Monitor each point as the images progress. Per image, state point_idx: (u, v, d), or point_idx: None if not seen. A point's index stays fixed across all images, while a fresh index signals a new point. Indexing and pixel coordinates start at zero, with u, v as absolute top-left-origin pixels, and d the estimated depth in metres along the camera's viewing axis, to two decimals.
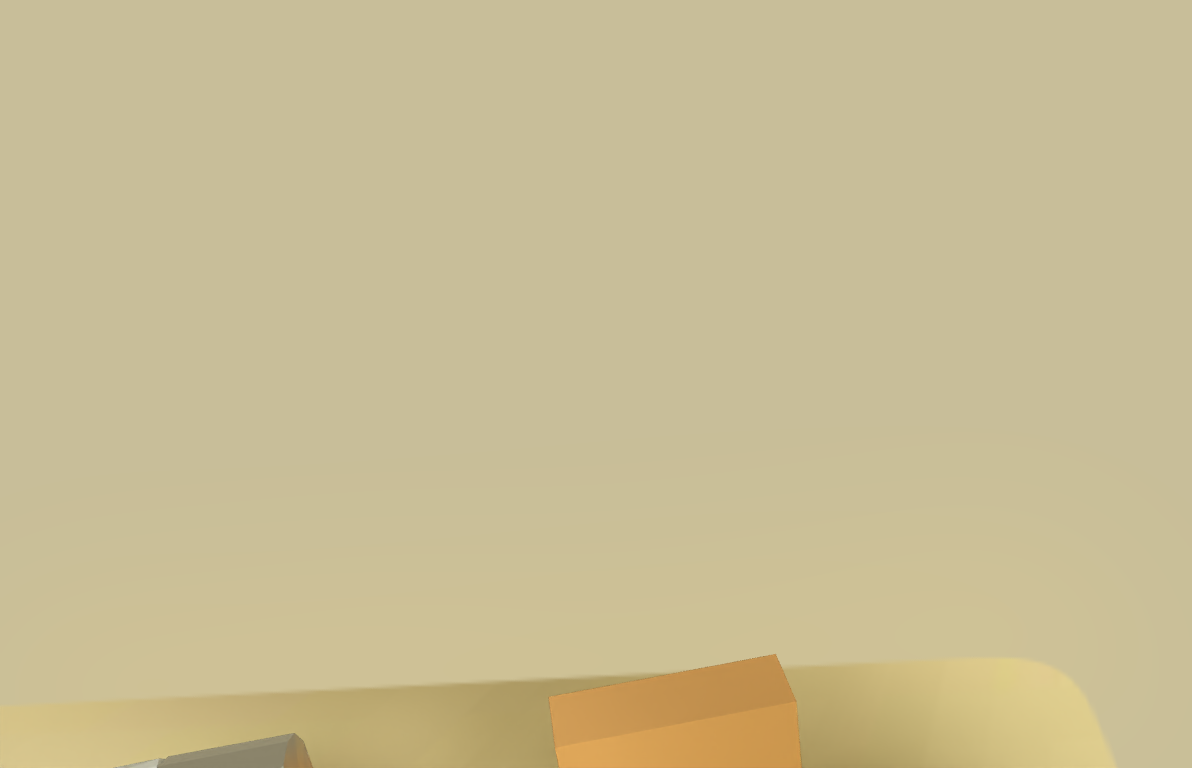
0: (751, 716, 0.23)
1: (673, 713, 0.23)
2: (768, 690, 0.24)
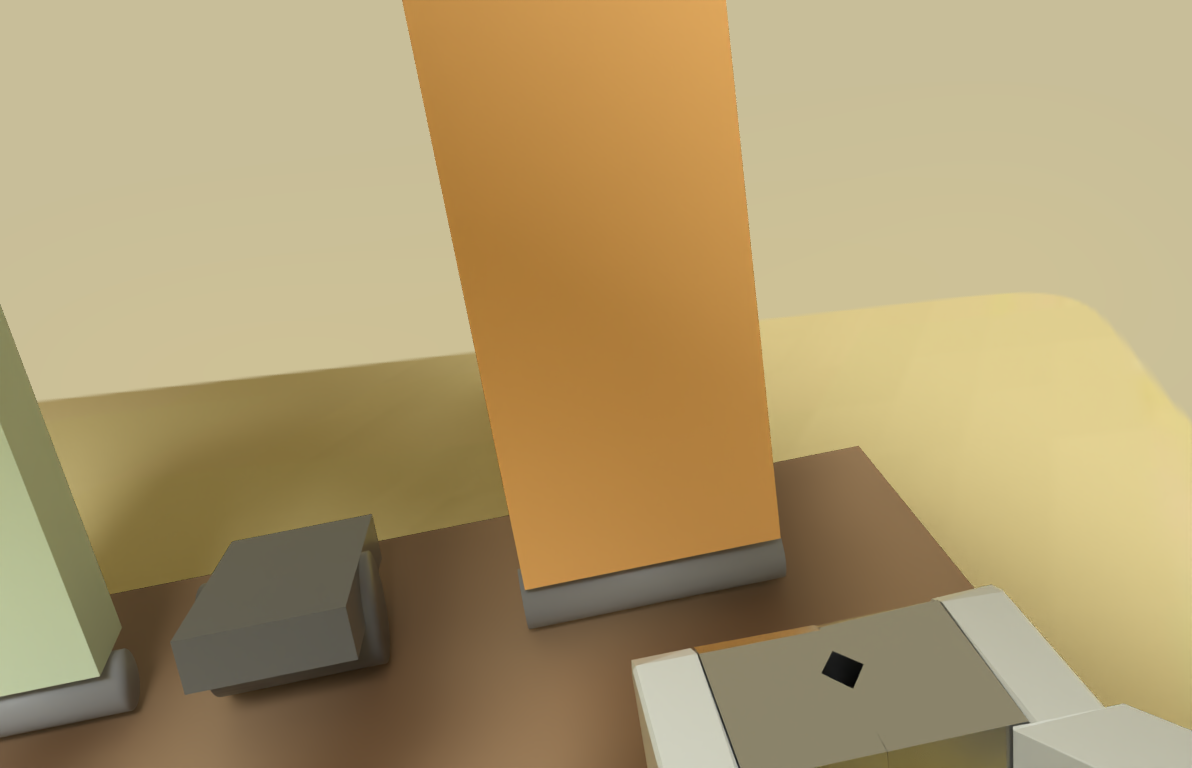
0: None
1: None
2: None
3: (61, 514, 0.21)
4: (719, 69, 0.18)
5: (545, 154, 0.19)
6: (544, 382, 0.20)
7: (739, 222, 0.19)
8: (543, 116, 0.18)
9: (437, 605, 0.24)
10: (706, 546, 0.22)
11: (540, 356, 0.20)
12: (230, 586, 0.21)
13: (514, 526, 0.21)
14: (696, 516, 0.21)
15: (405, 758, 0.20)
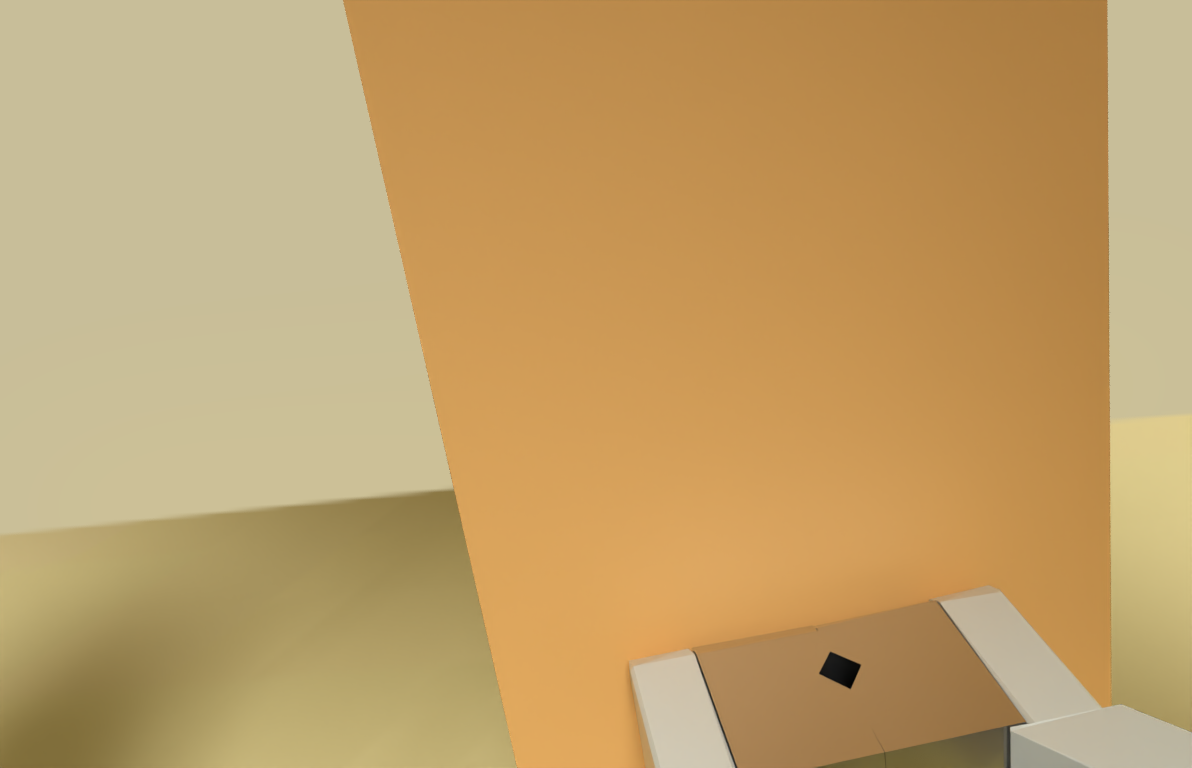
0: None
1: None
2: None
3: None
4: (1079, 223, 0.08)
5: (688, 414, 0.08)
6: None
7: (1091, 536, 0.09)
8: (686, 334, 0.08)
9: None
10: None
11: None
12: None
13: None
14: None
15: None
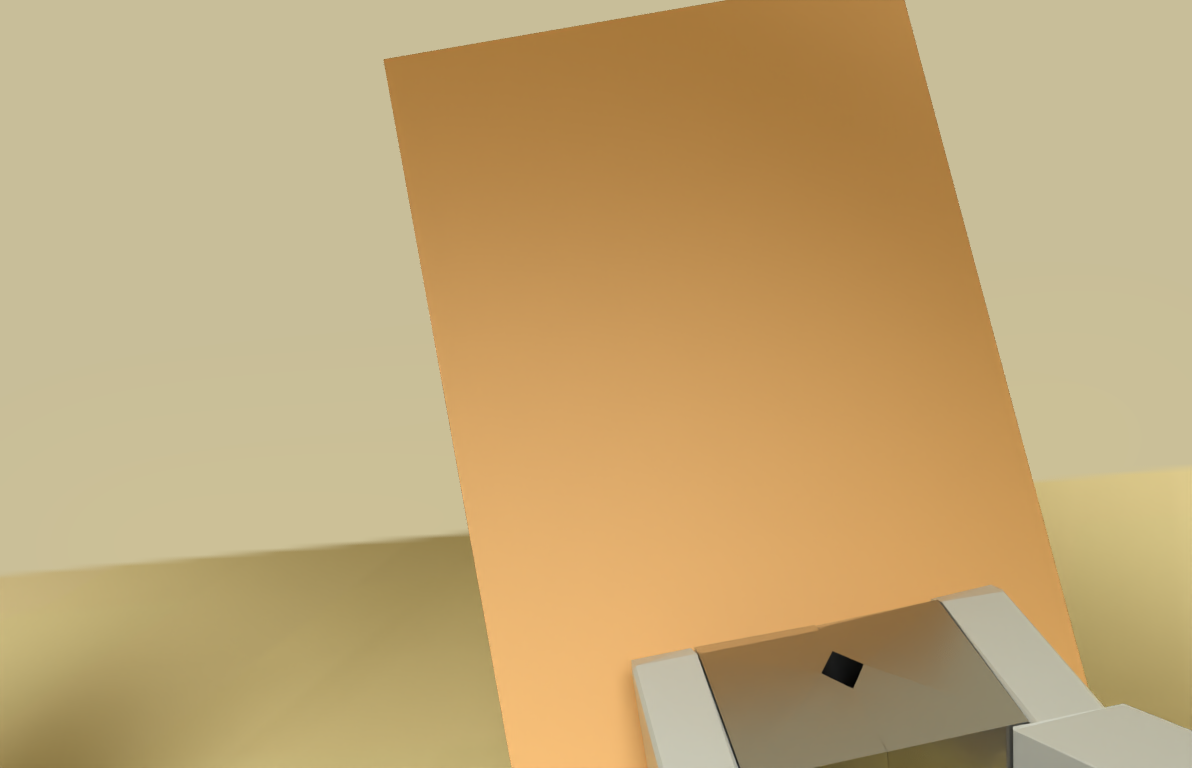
0: (806, 3, 0.11)
1: (641, 31, 0.11)
2: None
3: None
4: (955, 279, 0.10)
5: (654, 433, 0.10)
6: None
7: (1035, 556, 0.10)
8: (647, 366, 0.10)
9: None
10: None
11: None
12: None
13: None
14: None
15: None
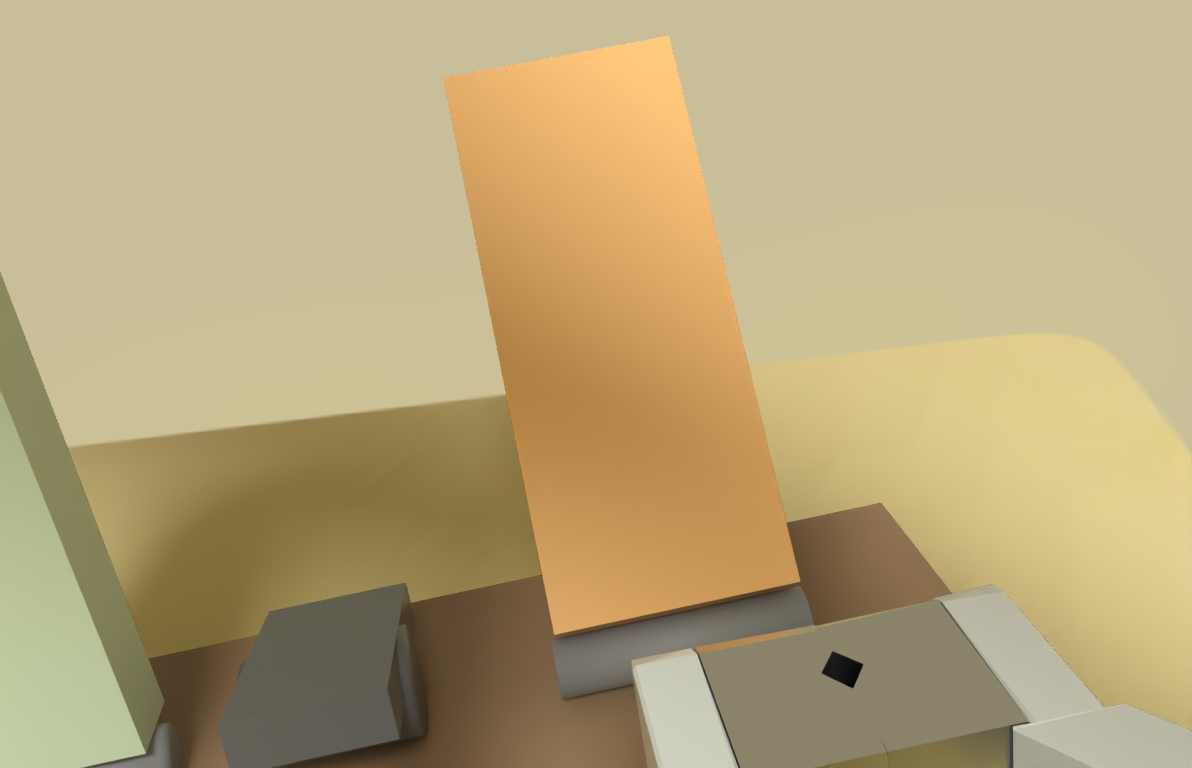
0: (628, 50, 0.25)
1: (557, 63, 0.25)
2: None
3: (107, 596, 0.21)
4: (690, 169, 0.24)
5: (560, 233, 0.24)
6: (566, 421, 0.23)
7: (720, 282, 0.24)
8: (557, 206, 0.24)
9: (471, 672, 0.25)
10: (727, 588, 0.23)
11: (561, 398, 0.23)
12: (271, 662, 0.22)
13: (542, 563, 0.23)
14: (714, 556, 0.23)
15: None
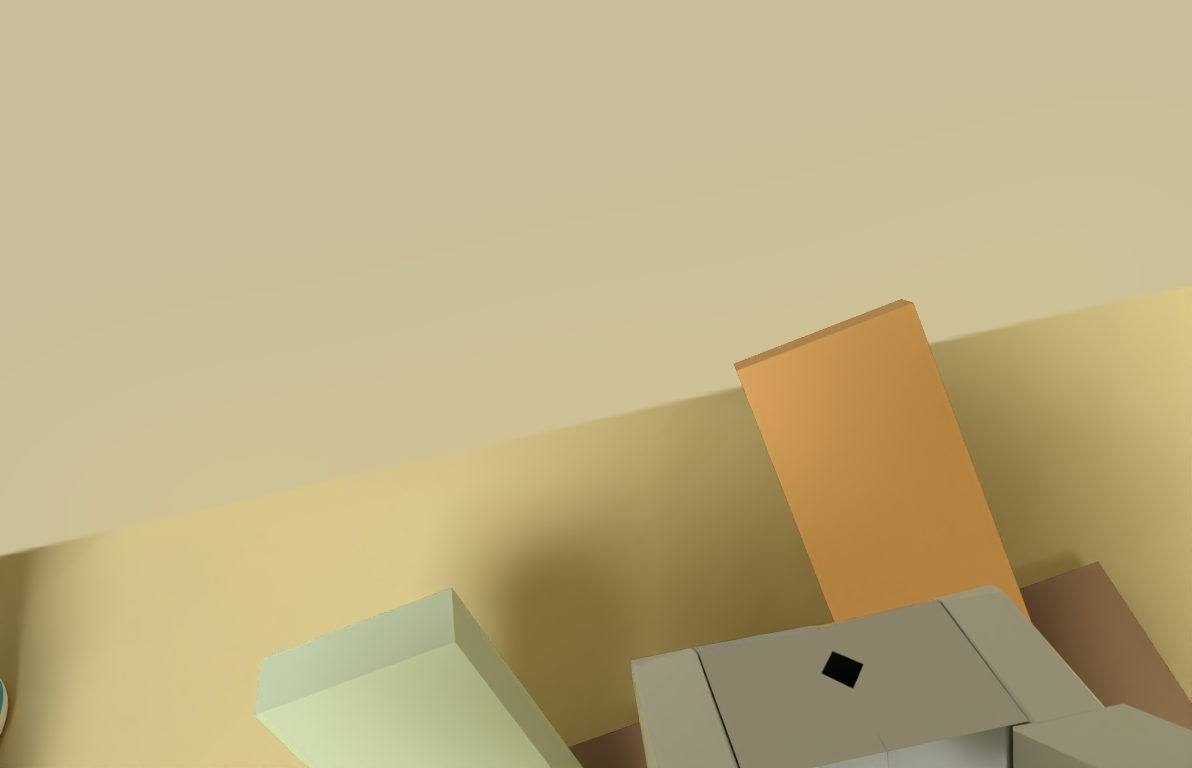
0: (881, 321, 0.30)
1: (822, 335, 0.31)
2: (893, 307, 0.31)
3: None
4: (945, 412, 0.31)
5: (849, 481, 0.31)
6: None
7: (979, 499, 0.31)
8: (844, 459, 0.31)
9: None
10: None
11: (870, 603, 0.31)
12: None
13: None
14: None
15: None
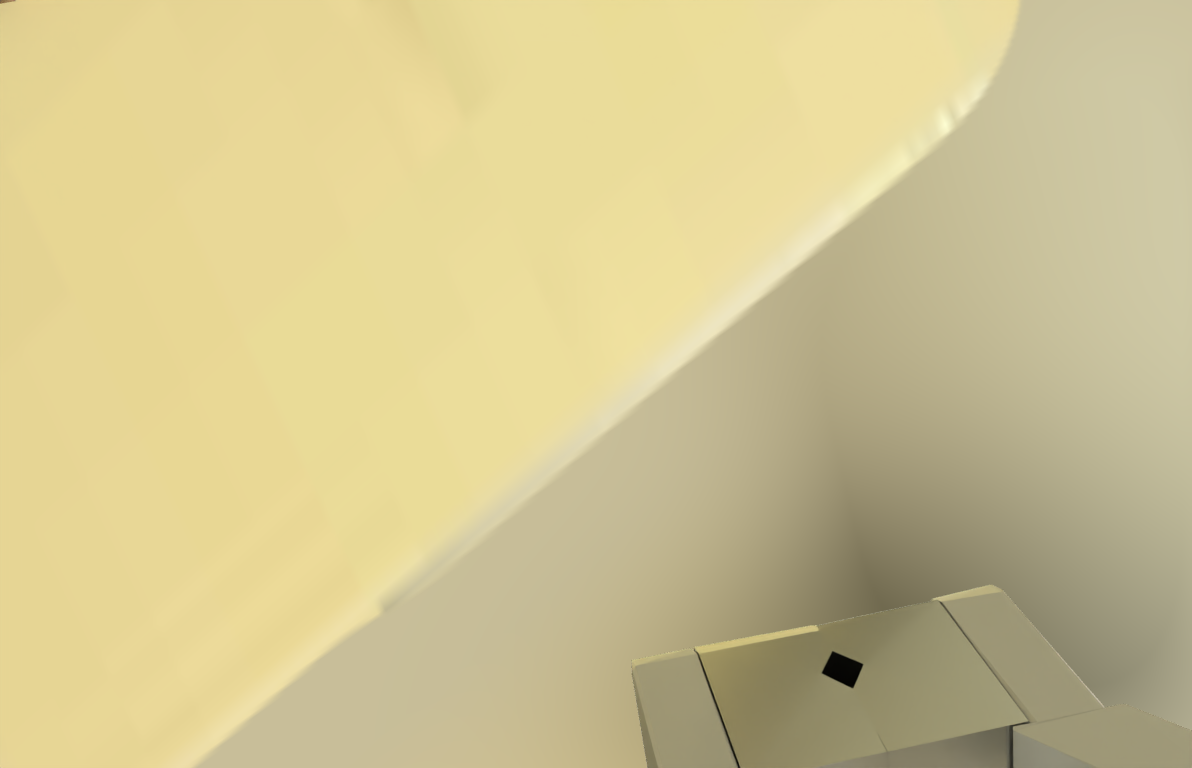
0: None
1: None
2: None
3: None
4: None
5: None
6: None
7: None
8: None
9: None
10: None
11: None
12: None
13: None
14: None
15: None
